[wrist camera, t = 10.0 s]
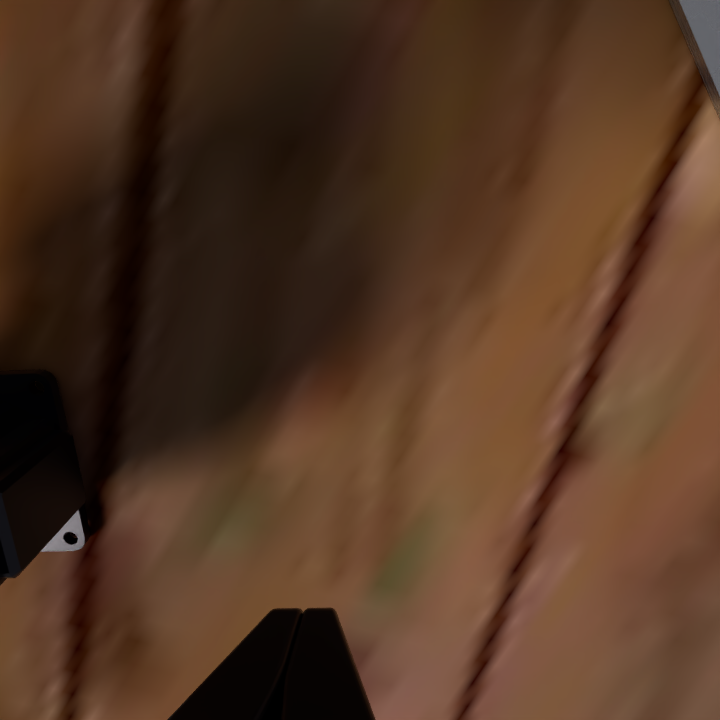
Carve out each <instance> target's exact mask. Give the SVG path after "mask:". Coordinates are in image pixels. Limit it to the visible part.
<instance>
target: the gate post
mask: <svg viewBox="0 0 720 720" xmlns="http://www.w3.org/2000/svg"><path fill="white" fill-rule="evenodd" d="M669 2H670V4H671V7H672V9H673V11H674V14H675V16H676V18H677V21H678V23H679V25H680V28H681V30H682V32H683V35H684V37H685V39H686V42H687V44H688V46H689V49H690V51H691V53H692V56H693V58H694V60H695V63H696V65H697V67H698V70H699V72H700V74H701V77H702V79H703V81H704V84H705V86H706V88H707V91H708V93H709V95H710V98H711V100H712V102H713V105H714V107H715V109H716V112H717V114H718V116H719V119H720V0H669Z"/></svg>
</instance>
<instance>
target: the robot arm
mask: <svg viewBox="0 0 720 720" xmlns="http://www.w3.org/2000/svg"><path fill="white" fill-rule="evenodd" d="M35 381H39V382H40V383H41V384H42V385H43V387H44V391H40V390H39V389H38V388H37V387H36V385H35ZM85 501H86V496H85V491H84V487H83V482H82V477H81V473H80V468H79V464H78V459H77V454H76V450H75V445H74V440H73V436H72V435H71V434H70V433H69V431H68V428H67V423H66V419H65V414H64V410H63V405H62V400H61V396H60V391H59V387H58V383H57V380H56V378H55V377H54V376H53V375H52V374H51V373H50V372H48V371H46V370H40V369H39V370H16V371H0V585H1V584H2V583H3V582H4V581H5V580H6V579H7V578H16V577H17V576H19V575H20V573H21V572H22V571H23V570H24V569H25V568H26V567H27V566H28V565H29V564H30V562H31V561H32V560H33V559H34V558H35V557H36V556H37V555H38V554H39V553H40V552H43V551H75V550H79V549H80V548H82V547H83V546H84V544H85V543H86V542H87V541H88V539H89V537H90V529H89V525H88V520H87V516H86V511H85V506H84V503H85ZM69 532H73V533H74V534H76V536H77V538H74V537H73V536H71V535H70V533H69ZM168 720H375V717H374V714H373V711H372V709H371V706H370V703H369V700H368V698H367V695H366V692H365V689H364V687H363V684H362V681H361V678H360V676H359V673H358V670H357V667H356V665H355V662H354V659H353V656H352V654H351V651H350V648H349V645H348V643H347V640H346V637H345V635H344V632H343V629H342V626H341V624H340V621H339V618H338V615H337V613H336V611H335V610H334V609H333V608H308V609H306V610H305V611H304V612H303V611H302V610H301V609H299V608H277V609H273V610H271V611H270V612H269V613H268V614H267V615H266V616H265V617H264V618H263V619H262V620H261V621H260V622H259V623H258V625H257V626H256V627H255V628H254V629H253V630H252V631H251V632H250V633H249V634H248V635H247V636H246V637H245V638H244V639H243V640H242V641H241V642H240V644H239V645H238V646H237V647H236V648H235V649H234V650H233V651H232V652H231V653H230V654H229V655H228V656H227V657H226V658H225V659H224V660H223V661H222V663H221V664H220V665H219V666H218V667H217V668H216V669H215V670H214V671H213V672H212V673H211V674H210V675H209V676H208V677H207V678H206V679H205V681H204V682H203V683H202V684H201V685H200V686H199V687H198V688H197V689H196V690H195V691H194V692H193V693H192V694H191V695H190V696H189V697H188V698H187V700H186V701H185V702H184V703H183V704H182V705H181V706H180V707H179V708H178V709H177V710H176V711H175V712H174V713H173V714H172V715H171V716H170V718H169V719H168Z"/></svg>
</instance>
